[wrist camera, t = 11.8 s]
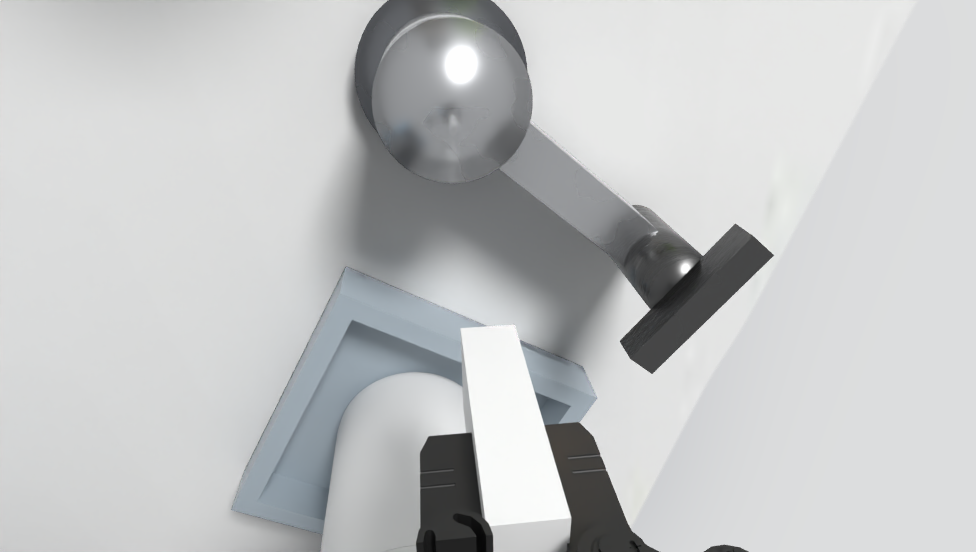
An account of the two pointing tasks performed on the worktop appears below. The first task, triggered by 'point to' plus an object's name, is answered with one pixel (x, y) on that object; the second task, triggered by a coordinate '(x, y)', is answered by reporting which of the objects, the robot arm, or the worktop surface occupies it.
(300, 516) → the tray
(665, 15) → the worktop surface
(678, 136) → the worktop surface
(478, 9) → the crank base
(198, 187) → the worktop surface
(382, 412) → the pill bottle
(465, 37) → the crank
